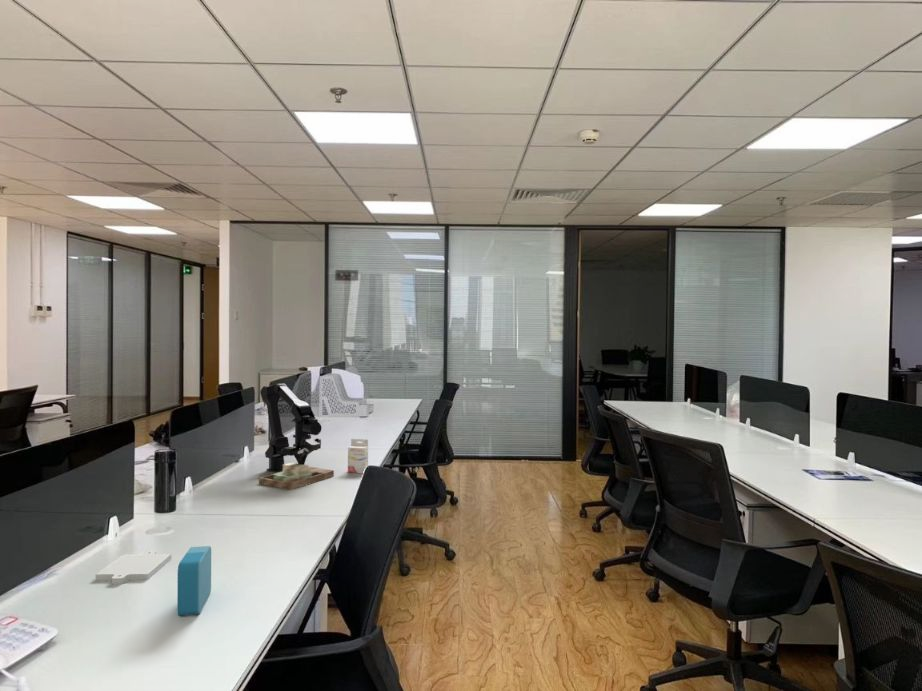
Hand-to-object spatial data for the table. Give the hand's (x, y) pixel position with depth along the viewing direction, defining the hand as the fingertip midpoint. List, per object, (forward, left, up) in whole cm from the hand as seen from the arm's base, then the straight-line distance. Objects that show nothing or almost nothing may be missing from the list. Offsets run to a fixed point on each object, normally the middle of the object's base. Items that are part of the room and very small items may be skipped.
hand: (301, 467), depth 248 cm
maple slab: (0, -4, -2) cm, 4 cm away
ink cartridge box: (+15, +20, -4) cm, 26 cm away
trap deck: (+2, -5, -4) cm, 7 cm away
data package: (+63, -100, -4) cm, 118 cm away
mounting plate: (+32, -95, -5) cm, 100 cm away
